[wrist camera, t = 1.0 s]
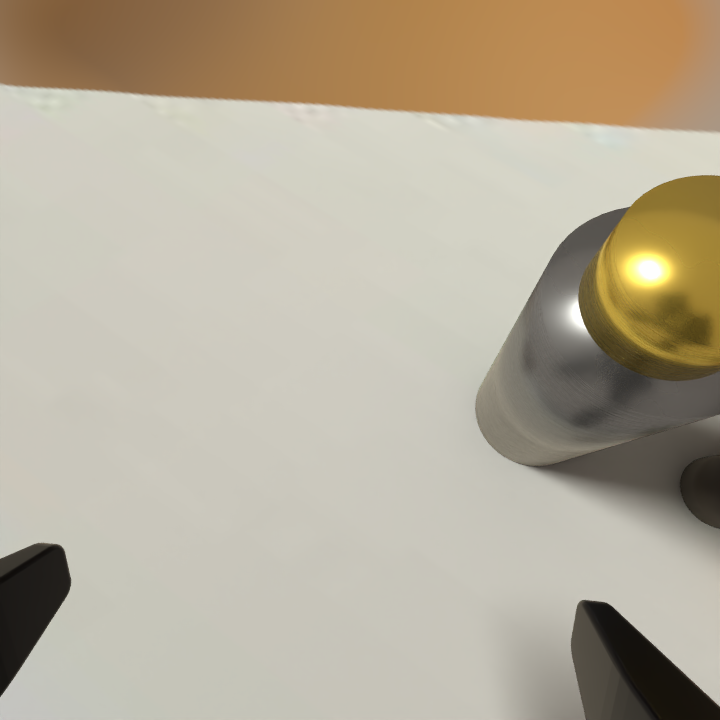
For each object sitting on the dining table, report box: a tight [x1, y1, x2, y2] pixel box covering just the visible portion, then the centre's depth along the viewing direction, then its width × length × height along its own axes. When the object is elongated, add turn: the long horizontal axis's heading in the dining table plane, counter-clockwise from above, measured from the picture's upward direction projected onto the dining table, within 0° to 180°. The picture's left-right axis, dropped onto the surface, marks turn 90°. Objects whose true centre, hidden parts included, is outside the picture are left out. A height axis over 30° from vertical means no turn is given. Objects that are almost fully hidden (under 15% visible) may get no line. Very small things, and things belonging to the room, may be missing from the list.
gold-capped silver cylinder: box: [475, 175, 720, 466], centre depth 15 cm, size 5×5×14 cm
